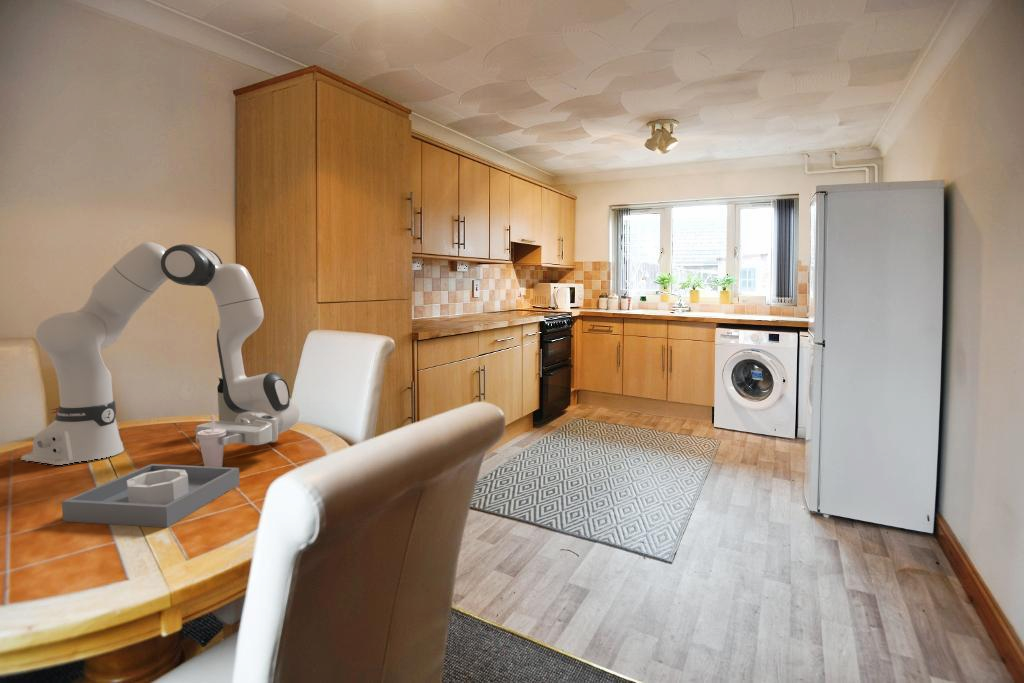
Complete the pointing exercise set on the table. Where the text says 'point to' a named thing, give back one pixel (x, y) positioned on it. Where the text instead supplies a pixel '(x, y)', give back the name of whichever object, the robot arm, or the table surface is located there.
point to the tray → (149, 513)
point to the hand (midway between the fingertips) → (209, 440)
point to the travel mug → (224, 405)
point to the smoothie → (211, 445)
